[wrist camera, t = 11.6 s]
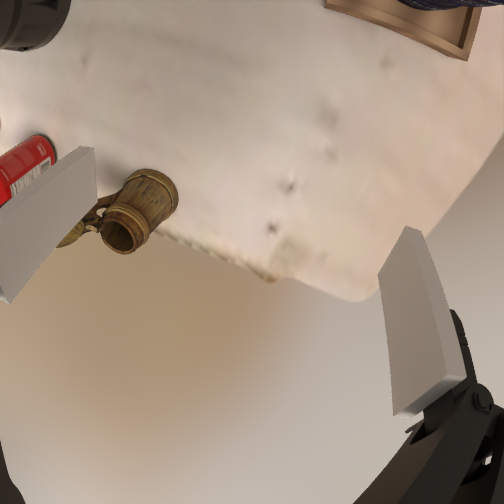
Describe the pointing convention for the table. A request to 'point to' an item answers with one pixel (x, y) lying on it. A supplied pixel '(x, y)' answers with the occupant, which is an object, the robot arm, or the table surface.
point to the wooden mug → (129, 212)
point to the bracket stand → (419, 23)
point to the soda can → (24, 165)
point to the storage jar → (448, 4)
